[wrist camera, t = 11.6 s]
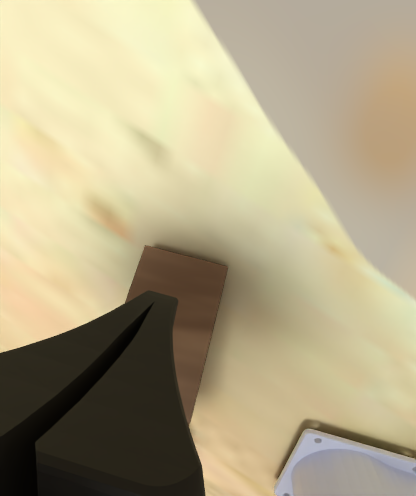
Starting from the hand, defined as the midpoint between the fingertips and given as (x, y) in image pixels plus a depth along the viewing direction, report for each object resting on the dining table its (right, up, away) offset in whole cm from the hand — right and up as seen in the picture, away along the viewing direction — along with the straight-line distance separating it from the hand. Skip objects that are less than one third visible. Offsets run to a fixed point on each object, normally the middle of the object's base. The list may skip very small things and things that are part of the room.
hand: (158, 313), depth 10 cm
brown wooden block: (+1, +2, +5) cm, 5 cm away
